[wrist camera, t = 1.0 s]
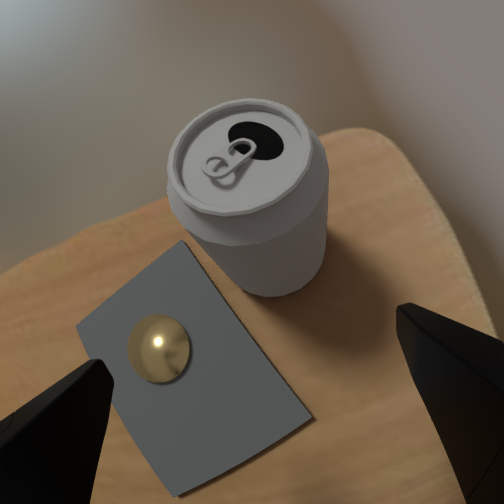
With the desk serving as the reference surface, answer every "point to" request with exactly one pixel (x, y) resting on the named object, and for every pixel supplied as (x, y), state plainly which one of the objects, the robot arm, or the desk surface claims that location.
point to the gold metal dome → (158, 348)
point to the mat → (191, 376)
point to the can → (253, 193)
